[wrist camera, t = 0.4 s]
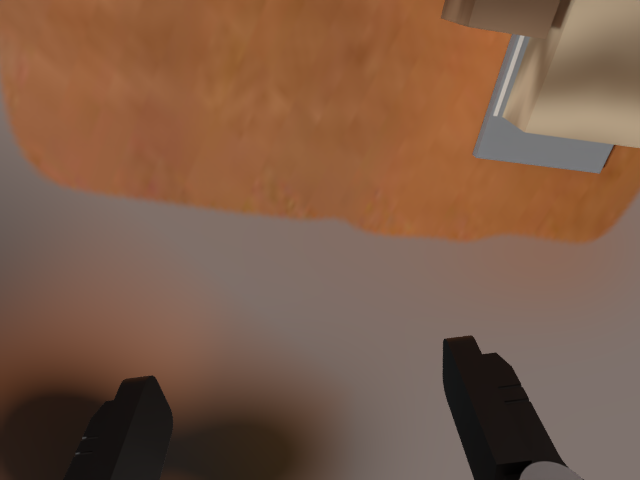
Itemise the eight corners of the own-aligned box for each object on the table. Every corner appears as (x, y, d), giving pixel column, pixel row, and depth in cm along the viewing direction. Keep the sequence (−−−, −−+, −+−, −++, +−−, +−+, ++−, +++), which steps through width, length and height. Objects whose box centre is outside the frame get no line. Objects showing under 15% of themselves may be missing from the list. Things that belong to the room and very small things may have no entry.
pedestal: (548, -15, 31) (579, -13, 27) (667, 6, 32) (713, 10, 28) (502, 116, 35) (524, 132, 32) (608, 131, 36) (641, 148, 33)
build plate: (549, -79, 29) (555, -80, 29) (699, -50, 31) (709, -50, 30) (472, 154, 37) (476, 157, 37) (594, 169, 39) (600, 173, 38)
